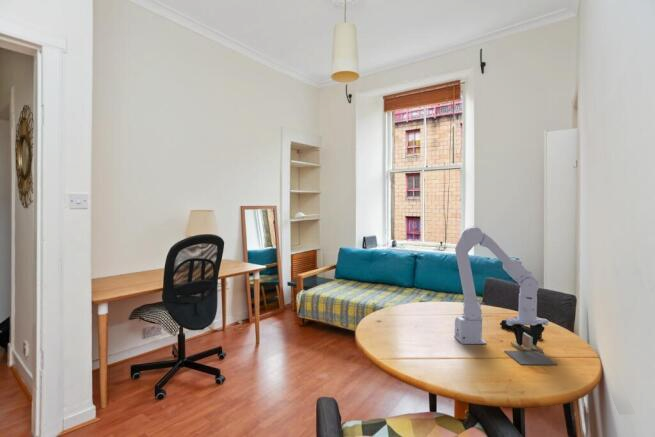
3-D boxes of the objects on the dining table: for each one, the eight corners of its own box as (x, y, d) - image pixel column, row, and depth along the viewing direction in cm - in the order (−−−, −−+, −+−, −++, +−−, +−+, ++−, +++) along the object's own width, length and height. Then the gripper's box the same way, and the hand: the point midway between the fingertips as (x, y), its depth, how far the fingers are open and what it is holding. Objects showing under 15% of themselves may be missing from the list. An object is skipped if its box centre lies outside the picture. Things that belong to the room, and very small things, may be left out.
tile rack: (521, 352, 119) (522, 349, 119) (510, 344, 126) (510, 341, 126) (543, 352, 120) (543, 349, 120) (530, 343, 127) (530, 341, 127)
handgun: (553, 336, 136) (535, 341, 130) (513, 323, 151) (495, 326, 145) (553, 328, 136) (536, 333, 130) (513, 315, 151) (496, 319, 145)
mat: (521, 365, 110) (521, 363, 110) (504, 351, 120) (504, 350, 120) (556, 364, 110) (556, 363, 110) (537, 351, 120) (537, 350, 120)
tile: (529, 351, 121) (529, 337, 120) (520, 345, 126) (521, 332, 125) (532, 351, 121) (532, 337, 120) (523, 345, 126) (524, 332, 125)
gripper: (514, 311, 118) (513, 349, 119) (554, 311, 119) (553, 348, 119) (503, 305, 125) (502, 340, 126) (541, 305, 126) (540, 340, 126)
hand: (526, 344), depth 123 cm, fingers open, 5 cm apart
